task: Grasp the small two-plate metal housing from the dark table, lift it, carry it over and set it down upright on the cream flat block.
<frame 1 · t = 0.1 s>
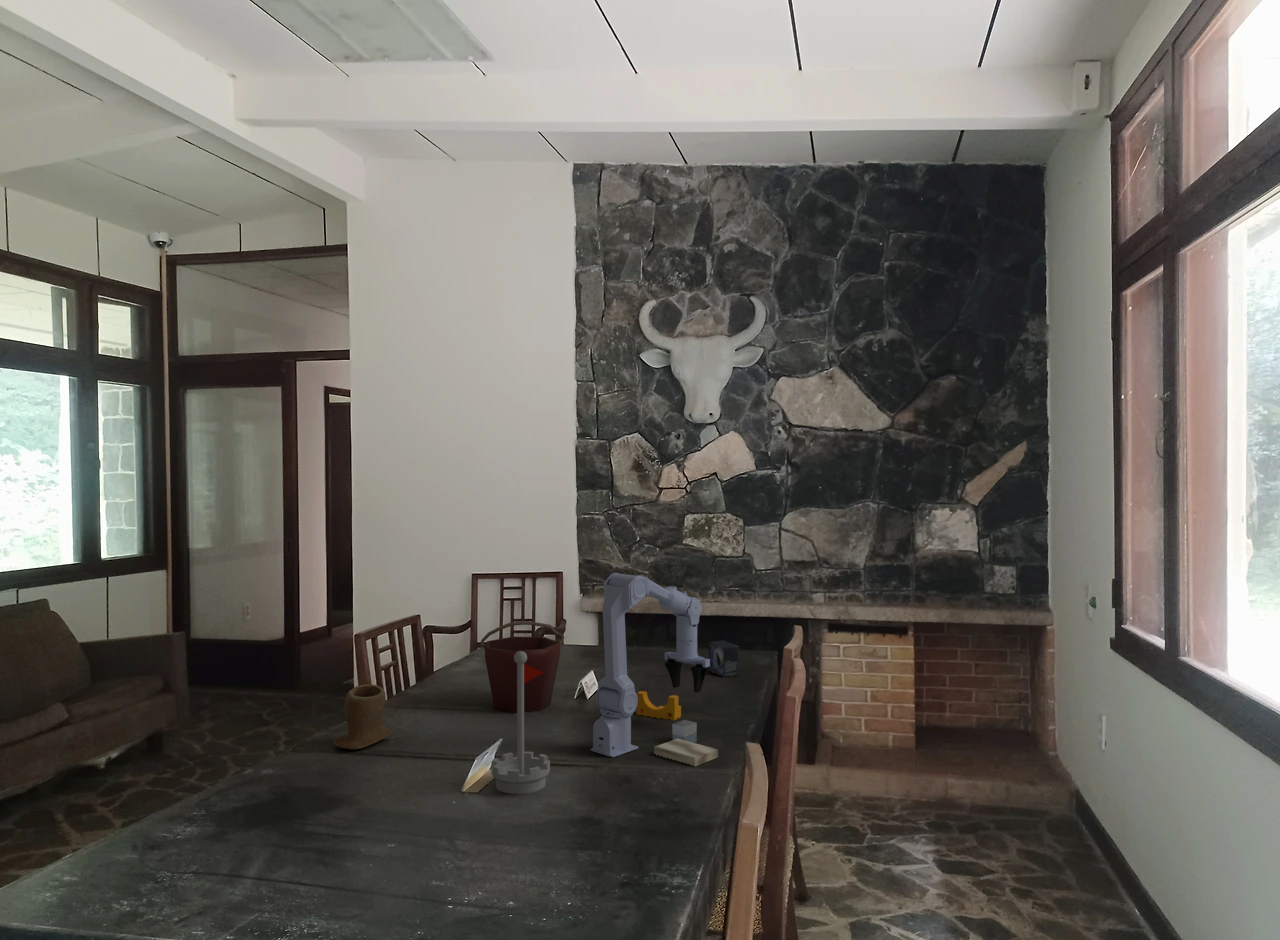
hand: (686, 689, 240), 10 cm above the table, tool pointing down, fingers open, 7 cm apart
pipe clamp: (658, 717, 250), on the table
flag stand: (520, 785, 196), on the table
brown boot: (366, 744, 225), on the table
small box: (723, 674, 301), on the table
bucket: (521, 706, 260), on the table
cream flat block: (685, 755, 215), on the table
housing: (684, 742, 226), on the table
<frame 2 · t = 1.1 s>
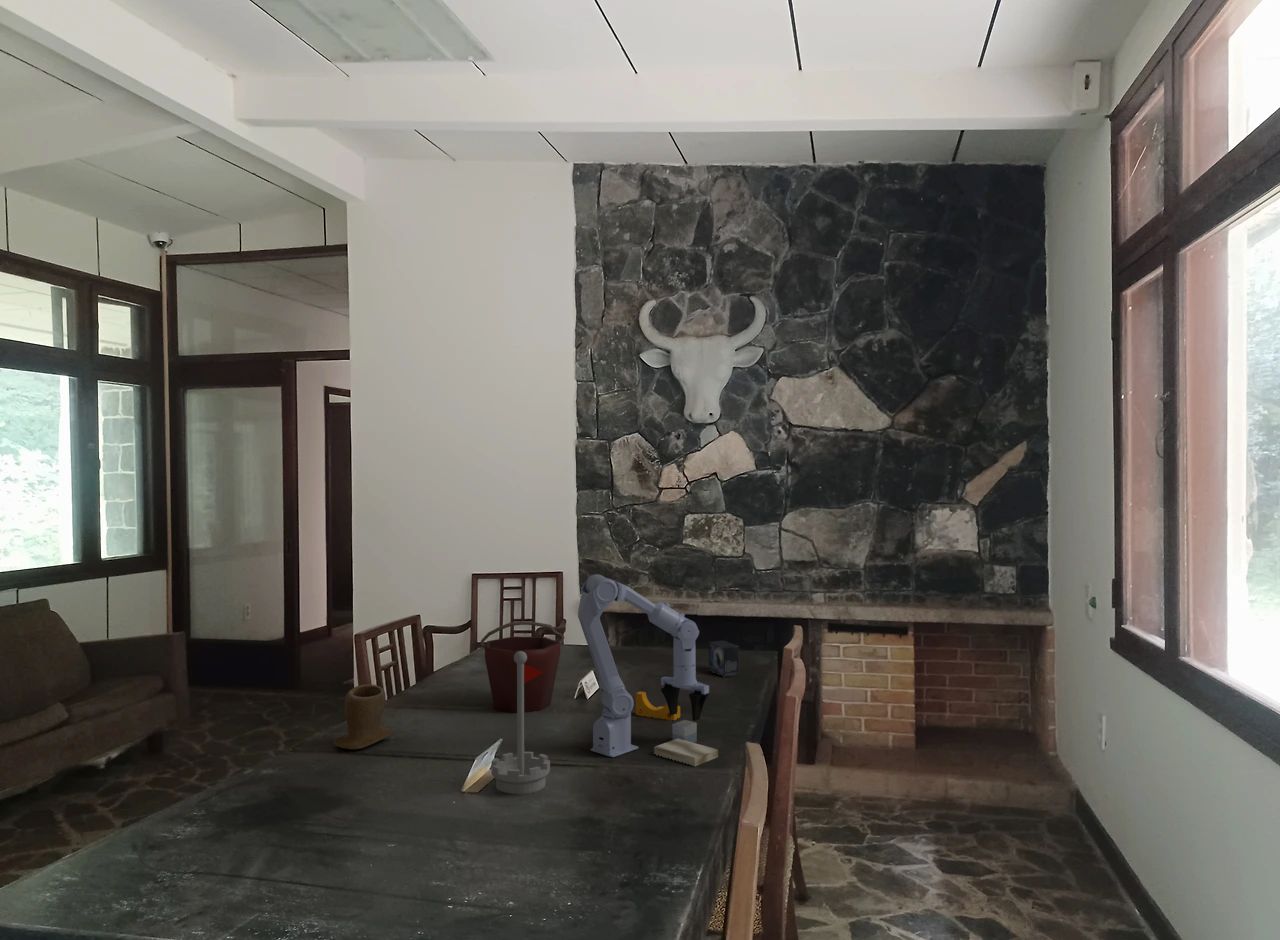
hand: (684, 717, 226), 7 cm above the table, tool pointing down, fingers open, 7 cm apart
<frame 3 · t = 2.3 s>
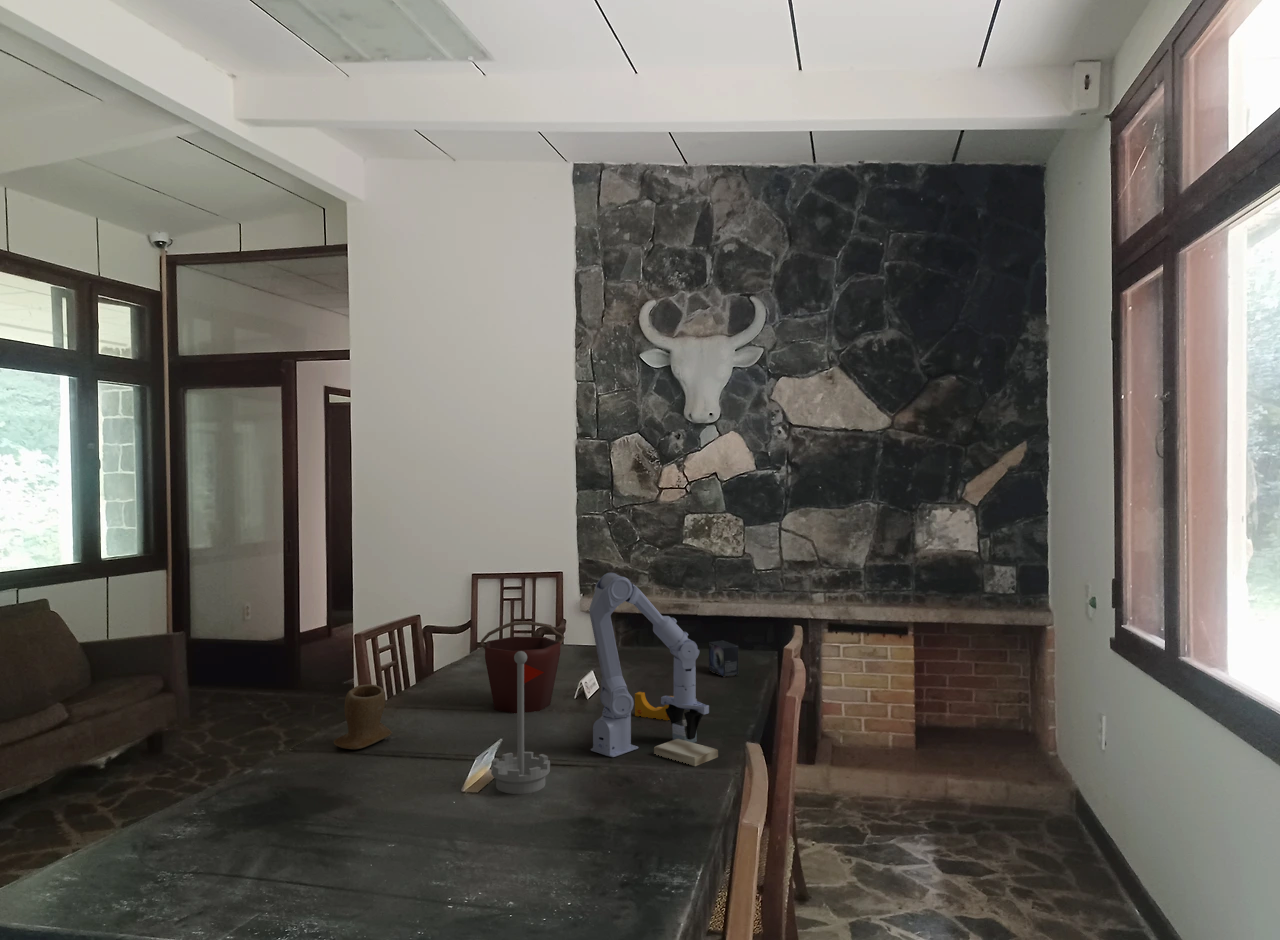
hand: (684, 736, 226), 1 cm above the table, tool pointing down, fingers closed on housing, 4 cm apart
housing: (684, 742, 226), on the table, touching gripper
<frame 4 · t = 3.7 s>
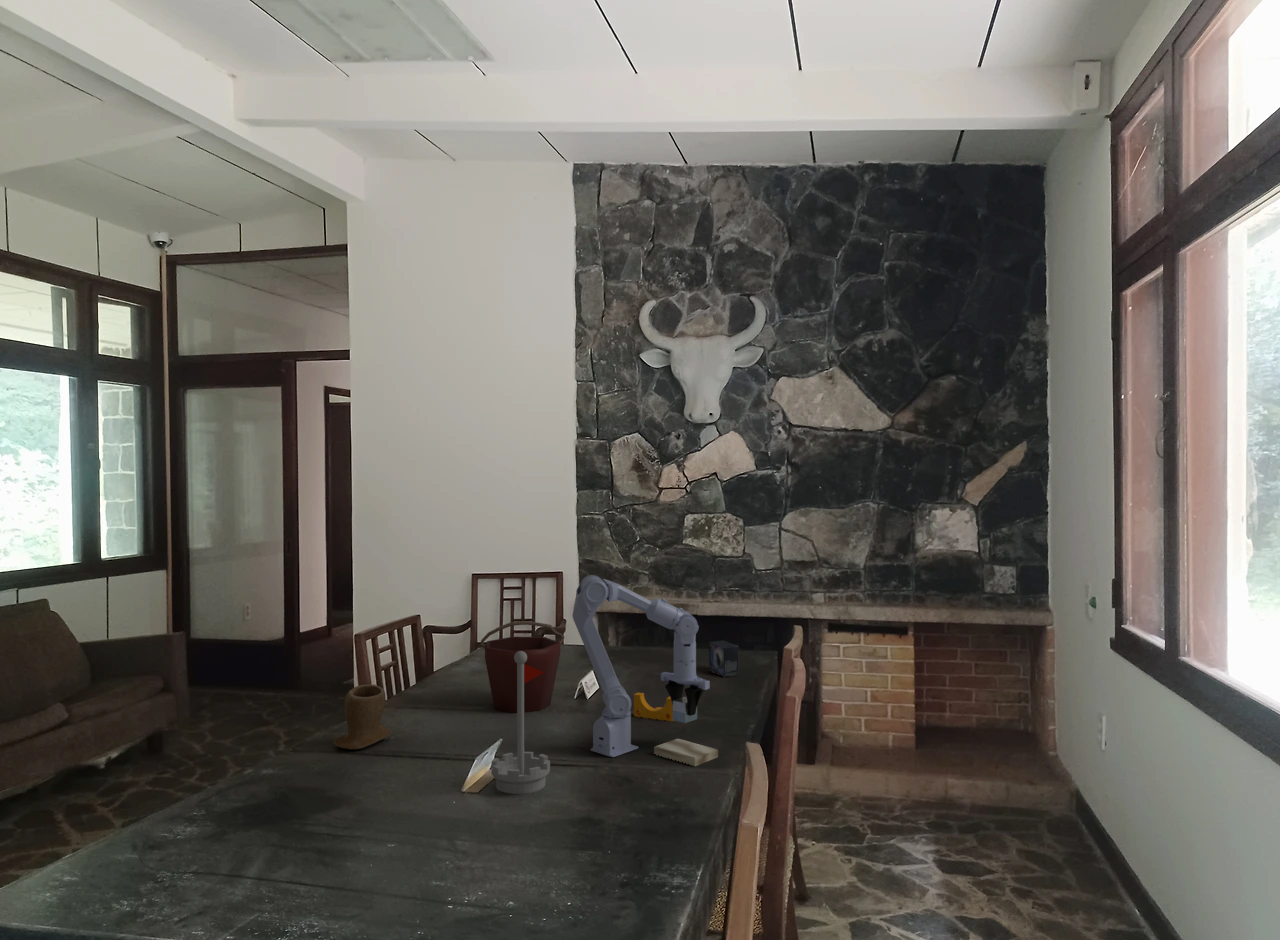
hand: (684, 713, 223), 8 cm above the table, tool pointing down, fingers closed on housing, 4 cm apart
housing: (685, 719, 223), point 7 cm above the table, touching gripper
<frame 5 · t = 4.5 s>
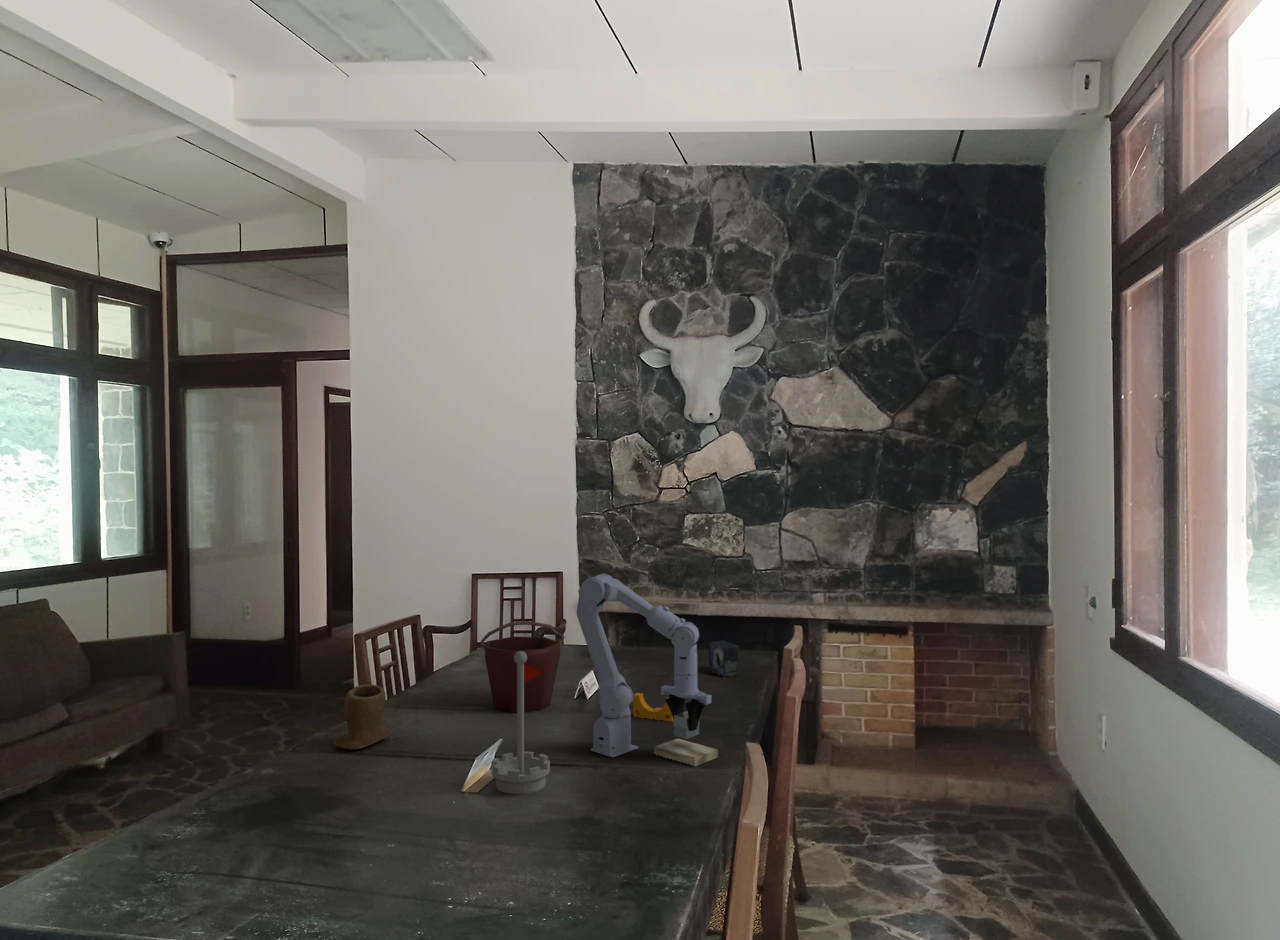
hand: (685, 728, 215), 7 cm above the table, tool pointing down, fingers closed on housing, 4 cm apart
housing: (686, 734, 215), point 5 cm above the table, touching gripper
when the fingers open (4 cm above the table, at t = 5.3 s): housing stays where it is, resting on cream flat block.
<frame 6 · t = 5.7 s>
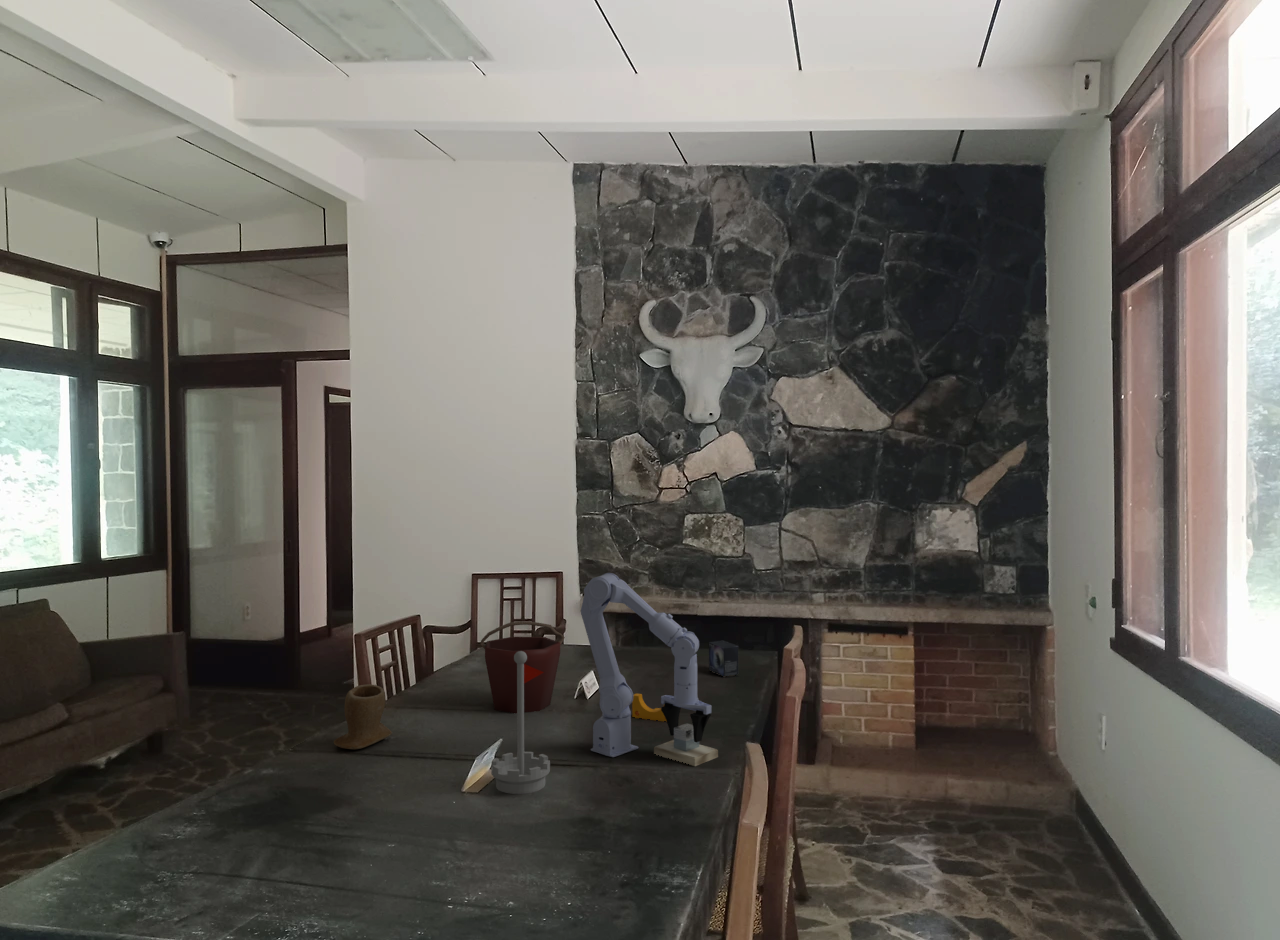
hand: (685, 737, 215), 4 cm above the table, tool pointing down, fingers open, 7 cm apart
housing: (686, 747, 215), point 2 cm above the table, touching cream flat block
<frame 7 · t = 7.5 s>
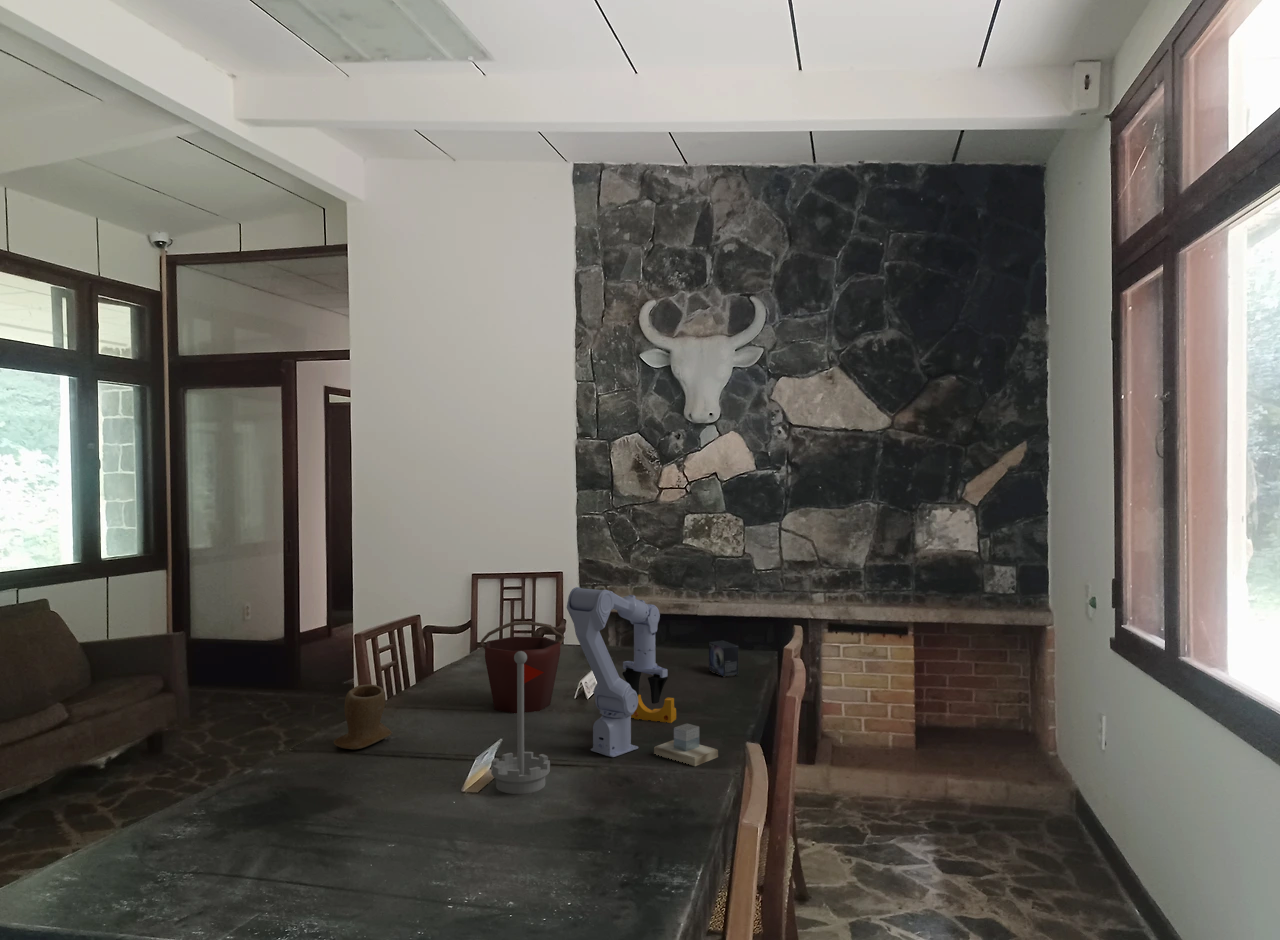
hand: (644, 700, 231), 9 cm above the table, tool pointing down, fingers open, 7 cm apart
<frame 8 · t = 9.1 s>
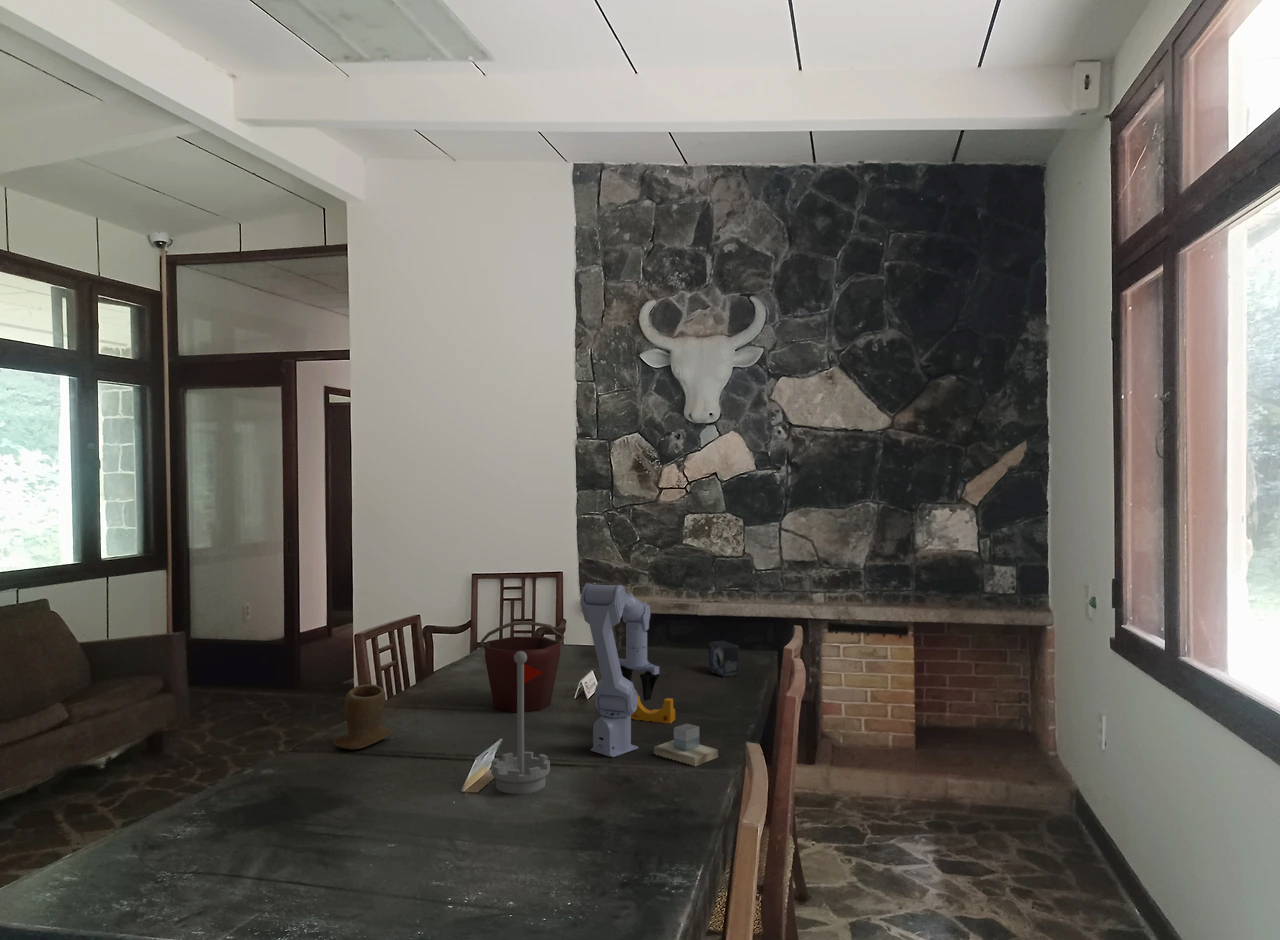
hand: (636, 697, 234), 9 cm above the table, tool pointing down, fingers open, 7 cm apart
at the end: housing inside the target area on the cream flat block (0.3 cm from its centre), point 2.0 cm above the cream flat block's base; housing tilted 0°; the gripper is holding nothing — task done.
